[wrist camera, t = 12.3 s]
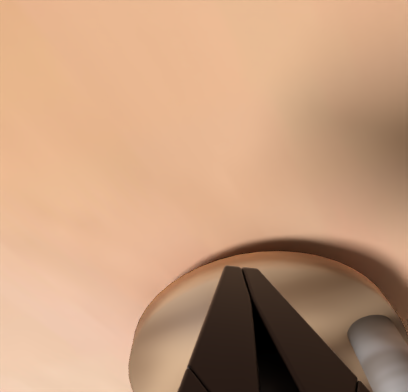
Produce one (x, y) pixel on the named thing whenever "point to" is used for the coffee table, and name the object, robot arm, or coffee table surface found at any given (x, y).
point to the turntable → (300, 300)
